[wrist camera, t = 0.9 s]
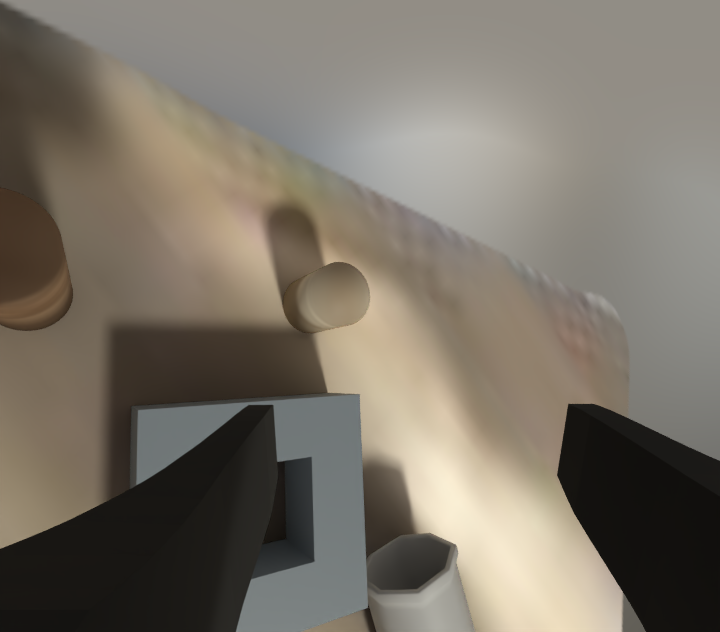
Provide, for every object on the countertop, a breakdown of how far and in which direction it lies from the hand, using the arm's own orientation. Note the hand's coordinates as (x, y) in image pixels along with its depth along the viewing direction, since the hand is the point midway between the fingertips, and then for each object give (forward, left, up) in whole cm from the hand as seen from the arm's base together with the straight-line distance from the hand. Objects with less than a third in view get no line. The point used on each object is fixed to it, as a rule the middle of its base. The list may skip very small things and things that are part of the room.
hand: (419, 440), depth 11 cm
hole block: (0, -4, -14) cm, 15 cm away
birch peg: (+4, +6, -14) cm, 16 cm away
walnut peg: (-9, +6, -14) cm, 18 cm away
